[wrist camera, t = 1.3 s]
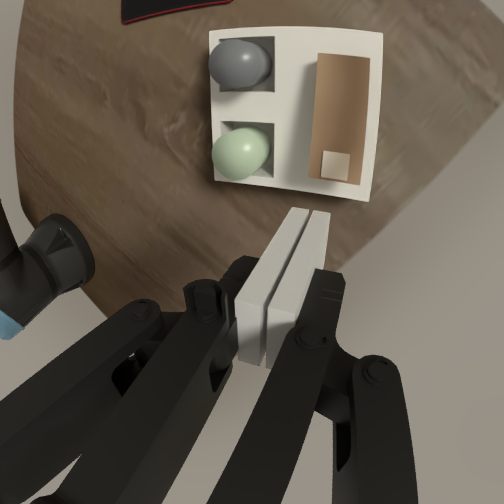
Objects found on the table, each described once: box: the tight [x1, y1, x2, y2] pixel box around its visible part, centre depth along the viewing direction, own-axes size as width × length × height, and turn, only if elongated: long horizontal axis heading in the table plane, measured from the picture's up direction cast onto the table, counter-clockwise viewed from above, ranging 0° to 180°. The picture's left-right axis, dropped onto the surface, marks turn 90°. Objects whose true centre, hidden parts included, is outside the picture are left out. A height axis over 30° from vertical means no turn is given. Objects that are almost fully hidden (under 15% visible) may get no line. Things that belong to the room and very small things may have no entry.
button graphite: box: [208, 39, 272, 88], centre depth 23 cm, size 4×4×4 cm
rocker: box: [308, 53, 370, 186], centre depth 22 cm, size 4×10×2 cm, turn 1°
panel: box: [209, 26, 383, 202], centre depth 26 cm, size 15×15×5 cm
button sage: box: [212, 125, 272, 180], centre depth 27 cm, size 4×4×4 cm
